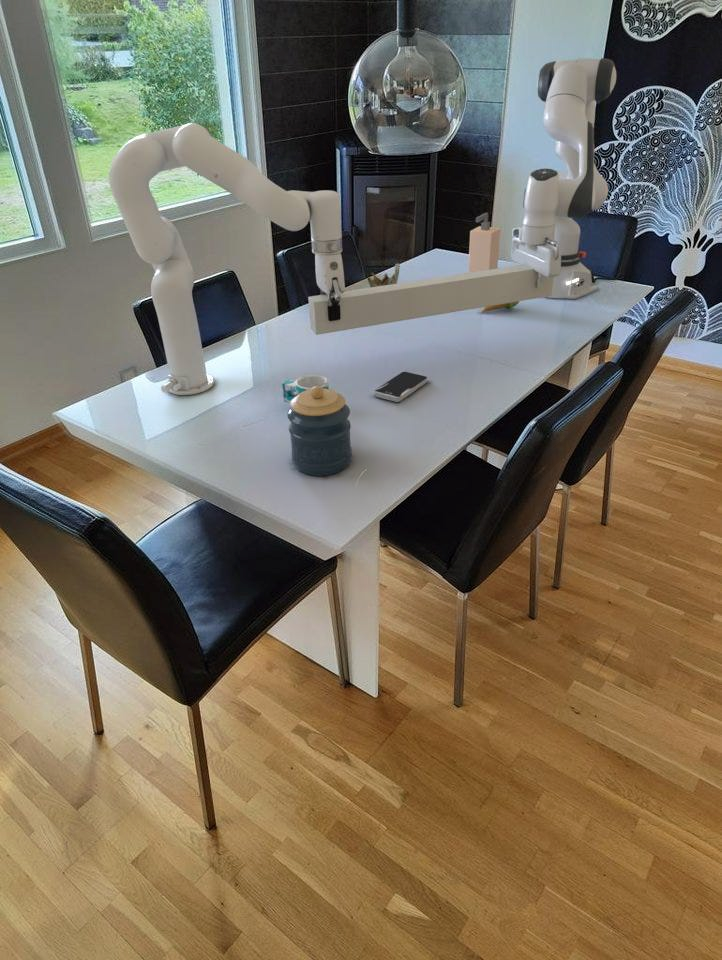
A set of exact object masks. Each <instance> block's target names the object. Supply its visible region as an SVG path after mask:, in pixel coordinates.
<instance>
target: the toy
mask: <svg viewBox="0 0 722 960" xmlns="http://www.w3.org/2000/svg"><path fill="white" fill-rule="evenodd" d="M518 304H520V301H517V302H511V303H505V304H499V305H493V306H487V307H483V309H482V310H481V313H485V312H490V311H496V310H500V309H506V310H507V311H508V310H511V309H513V308H514V307H516V306H517V305H518Z"/></svg>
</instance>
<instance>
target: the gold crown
mask: <svg viewBox="0 0 722 960" xmlns="http://www.w3.org/2000/svg"><path fill="white" fill-rule="evenodd" d="M400 265H401V264H400V263H395V265H394V271H393V274H392V275H391V276H390V277H389V276H388V273H384V275H383V277H382V279H380V278H379V277H377V275H375V274H374V272H370V274H371V275H372V276H373V279H372V278H371V276H368V278H367V282H368V284H369V288H371V287H378V286H384V285H391V284H398V279H399V274H400Z"/></svg>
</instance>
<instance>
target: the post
mask: <svg viewBox="0 0 722 960" xmlns="http://www.w3.org/2000/svg"><path fill="white" fill-rule="evenodd" d="M538 279H539V276H538V272H535V271H534V269H533V268H531V267H529V266H527V265H521V264H518V265H513V266H505V267H499V268H498V267H497V269H491V270H485V271H478V272H471V273H468V272H465V273H460V274H459V273H458V274H453V275H451V274H450V275H445V276H438V277H432V278H426V279H425V278H424V279H419V280H412V281H411V280H410V281H405V282H399V283H398V282H397V284H391V285H384V286H378V287H371V288H370V287H366V288H357V289H351V290H345V292H344V293H341V292H340V294H341V298H340V315H341V319H340V320H335V321H329V320H328V306H329V303H328V296H327V294H324V295H320V294H319V295H311V296H310V295H309V296H308V298H307V301H308V311H309V324H310V330H311V331H312V332H313V333H314V334H315V335H316V336H318V335H323V334H329V333H330V334H331V333H335V332H342V331H347V330H353V329H359V328H360V329H361V328H366V327H373V326H379V325H383V324H390V323H397V322H402V321H408V320H413V319H420V318H427V317H433V316H438V315H439V316H440V315H445V314H449V313H456V312H462V311H469V310H474V309H481V308H485V307H487V306H493V305H499V304H505V303H511V302H517V301H519V302H523V301H528V300H534V299H541V298H548V297H547V296H552V289H553V280H554V277H547V278H546V279H545V281H544V285H543V288H540V289H538V288H536V287H535V285H536V284H535V283H536V281H538ZM332 297H334V295H333V296H331V300H332Z"/></svg>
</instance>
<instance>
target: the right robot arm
mask: <svg viewBox="0 0 722 960" xmlns="http://www.w3.org/2000/svg"><path fill="white" fill-rule="evenodd" d="M616 82H617V70H616V65H615V63H614V61H613V60H612V59H610V58H604V57H603V58H602V57H601V59H599V58H588V57H587V58H586V57H585V58H584V57H579V58H577V59H576V58H575V59H567V60H561V61H556V60H554V61H550V62H547V63H545V64H544V65H543V66H542V67H541V68H540V69H539V72H538V76H537V80H536V92H537V96H538V98H539V99H540V100H541V101H542V102H544V109H543V117H542V118H543V119H542V124H543V128H544V130H545V132H546V133H547V134H548V135H549V136H550V137H551V138H552V139H553V140H555V145H554V152H555V154H556V156H557V157H558V159H560V160H561V161H562V162H563V163H564V165H565V167H566V168H567V171H561V170H559V171H558V170H555V169H553V168H540V169H535V170H533V171H532V172H531V173H529V175H528V180H527V184H526V187H525V189H524V191H523V200H522V201H523V202H522V207H523V209H524V217H523V220H522V225H521V226H518V227H515V228H512V229H511V236H512V239H511V245H510V246H511V247H510V257H511V260H512V262H514V263H516V264H518V265H527V266H529V267H531V268H533V269H534V271H535V272H538V276H539V279H538V281H536V283H535V284H536V285H535V287H536V288H538V289H540V288H543V285H544V281H545V279H546V278H547V277H554V280H553V289H552V296H547V297H546V298H550V299H569V300H571V299H572V300H577V299H579V298H582V297H584V296H586V295H589V294H590V293H593V292H595V291H597V290H598V286H597V285H596V284H595V283H596V281H597V280H600V281H601V280H602V281H616V280H618V279H619V278H620V277H623V273H622V272H621V271H620V272H618V273H617V276H615V277H605V276H596V277H595V275H594V270H593V269H589V268H587V267H586V266H585V265H584V264H583V263H582V262H581V259H585V258H586V257H587V252H586V251H582V250H581V251H579V247H580V238H581V228H580V225H579V224H578V223H577V222H576V221H575V219H576V220H581V219H583V218H585V217H586V216H588V215H589V214H590V213H591V212H592V211H597V210H599V209H600V208H601V207H602V206H603V205H604V204H605V203H606V200H607V198H608V194H609V186H608V183H607V181H606V179H605V178H604V177H603V176H602V175H601V174H600V172H599V170H598V169H597V166H596V164H595V130H594V129H595V119H596V104H597V105H598V104H600V103H601V102H602V101H605V100H606V99H608V98H609V96H611V94H612V91H613V90H614V88H615V85H616Z"/></svg>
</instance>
